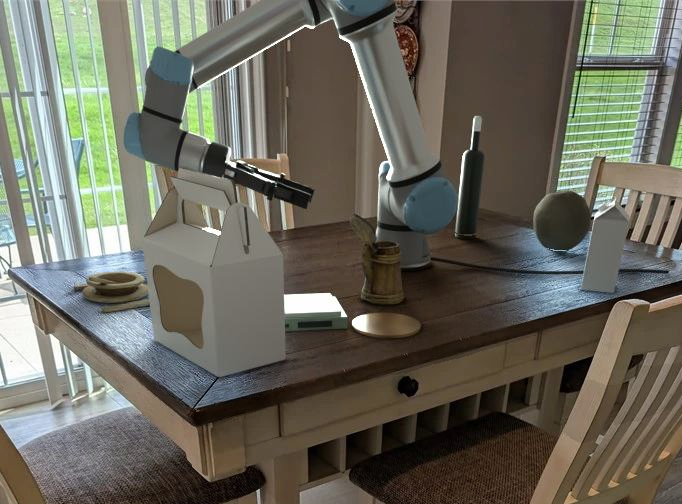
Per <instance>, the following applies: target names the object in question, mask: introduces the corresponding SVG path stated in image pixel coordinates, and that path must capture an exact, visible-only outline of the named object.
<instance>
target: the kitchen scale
mask: <svg viewBox="0 0 682 504" xmlns="http://www.w3.org/2000/svg"><path fill="white" fill-rule="evenodd" d="M284 307H285V332H298V331H299V332H300V331H319V330H341V329H348V324H349V323H348V315H347V313H346V312H345V310H344V309H343V307H342V305H341V304H340V302H339V301H338V299H337V298H336V296H333V295H332V294H331V293H330V292H324V293H321V292H320V293H319V292H318V293H297V294H295V293H293V294H284Z"/></svg>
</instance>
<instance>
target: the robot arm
mask: <svg viewBox="0 0 682 504" xmlns="http://www.w3.org/2000/svg"><path fill="white" fill-rule="evenodd" d="M397 14H398V8H397V5H396V1H395V0H259V1H257V2H255V3H254V4H252V5H250V6H249V7H247V8H245V9H243V10H241V11H240V12H239V13H237V14H234V15H233V16H231V17H230V18H228V19H226V20H225V21H223V22H221V23H220V24H218V25H217V26H214V27H212V28H211V29H209V30H207V31H206V32H205V33H203V34H201V35H199V36H198V37H196V38H194V39H193V40H191V41H189V42H187V43H185V44H184V45H183V46H181V47H179V48H178V49H177V50H175V51H173V50H170V49H169V48H165V47H162V46H156V47H155V48H154V49H153V51H152V52H153V53H152V56H151V59H150V61H149V66H148V67H147V68H146V71H145V74H144V75H145V76H144V83H145V87H146V88H145V92H144V93H145V94H144V99H143V104H142V109H141V111H140V112H135V111H134V112H133V111H132V112H131V113H130V114H129V116H128V117H127V119H126V124H125V126H124V130H123V139H122V140H123V146H124V149H125V151H126V152H127V153H128V154H130V155H132V156H134V157H137V158H139V159H141V160H144V161H145V162H147V163H151V164H154V165H156V166H160V167H163V168H165V169H168V170H171V171H174V172H177V173H178V170H179V168H185V169H189V170H193V171H197V172H201V173H205V174H209V175H213V176H217V177H221V178H225V179H229V180H233V181H234V183H235V185H239V186H242V187H243V188H244V187H245V188H247V189H250V190H251V191H254V192H256V193H259V194H260V195H263V196H264V197H266V200H268V201H273V198H274V199H277V200H279V201H282V202H284V203H287V204H290V205H293V206H296V207H299V208H301V209H304V210H307V209H308V207H309V206H308V205H309V203H310V204H311V203H312V200H313V197H314V193H315V191H316V189H315V188H313V187H310V186H308V185H305V184H302V183H300V182H297V181H294V180H291V179H289V178H285V177H286V174H285V173H283V172H280V174H276V173H273V172H270V171H266V170H264V169H260V168H258V167H257V166H253V165H251V164H248V163H247V162H245V161H243V160H236V161H235V162H233V161H231V160H230V159H231V157H232V156H231V155H232V150H231V147H229V146H228V145H226V144H222V143H220V142H217V141H215V140H214V141H211V142H210V139H209V138H207V137H205V136H202V135H199V134H198V133H195V132H191V131H188V130H185V129H182V124H183V121H184V115H185V110H186V106H187V102H188V97H189V95H190V94H191V93H193V92H195V91H196V90H198V89H199V88H201V87H203V86H205V85H206V84H208V83H210V82H211V81H213V80H215V79H216V78H218V77H220V76H222V75H223V74H226V73H227V72H229V71H230V70H232V69H234V68H235V67H238V66H239V65H241V64H242V63H244V62H246V61H248V60H249V59H251V58H253V57H255V56H256V55H258V54H259V53H262V52H263V51H265V50H266V49H269V48H270V47H272V46H274V45H275V44H277V43H279V42H281V41H282V40H284V39H286V38H288V37H290V36H291V35H293V34H294V33H296V32H298V31H299V30H301V29H303V28H304V27H307V28H309V29H314V28H316V27H318V26H319V25H321V24H323V23H326V22H329V21H331V20H333V21H334V25H335V27H336V30H337V33H338V36H339V38H340V39H342V40H343V41H346V42H348V43H349V44H350V47H351V49H352V53H353V56H354V58H355V63H356V65H357V69H358V71H359V74H360V77H361V80H362V83H363V86H364V90H365V92H366V95H367V98H368V102H369V104H370V108H371V109H372V110H371V111H372V114H373V117H374V119H375V123H376V126H377V129H378V133H379V136H380V138H381V141H382V144H383V147H384V151H385V153H386V156H387V159H388V160H386V161H385V160H384V161H382V162H381V164H380V166H379V173H378V176H377V178H378V193H377V194H378V197H377V219H376V222H377V223H376V225H377V226H376V230H375V233H376V238H377V240H376V241H385V240H387V241H393V242H397V243H399V245H400V251H401V261H400V267H401V272H413V271H420V270H425V269H427V268H429V267H430V266H431V265H432V261H433V262H440V263H444V264H450V265H455V266H461V267H467V268H472V269H480V270H487V271H494V272H502V273H503V272H504V273H513V274H526V275H549V276H550V275H552V276H553V275H583V274H584V271H583V270H531V269H530V270H529V269H517V268H506V267H498V266H497V267H496V266H488V265H482V264H475V263H468V262H463V261H457V260H452V259H446V258H442V257H441V258H440V257H435V256H432V254H431V253H432V252H431V248H430V245H429V240H428V236H427V235H433V234H436V233H439V232H441V231H442V230H444V229H445V228H447V227H448V225H449V224H450V223H451V222H452V220H453V218H454V216H455V215H456V213H457V210H458V200H459V198H458V194H457V190H456V188H455V187H454V185H453V183H451V181H449V180H448V179H447V178H446V174H445V172H444V168H443V165H442V161H441V158H440V156H439V155H438V154H436V153H434V152H432V151H431V150H430V147H429V144H428V140H427V137H426V133H425V130H424V126H423V123H422V119H421V117H420V116H421V115H420V113H419V108H418V106H417V103H416V99H415V96H414V93H413V90H412V85H411V83H410V79H409V76H408V72H407V68H406V65H405V61H404V58H403V55H402V51H401V48H400V45H399V41H398V37H397V34H396V31H395V27H394V22H395V18H396V16H397ZM618 273H643V274H644V273H645V274H661V275H662V274H664V275H668V274H670V270H669V269H651V268H650V269H649V268H619V272H618Z"/></svg>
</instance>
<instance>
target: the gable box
mask: <svg viewBox="0 0 682 504" xmlns="http://www.w3.org/2000/svg"><path fill="white" fill-rule="evenodd" d="M169 178H170V180H171V182H172V184H173V186H171V188H170V189H169V190H168V191H167V193H166V194H165V196H164V197H163V200H162V202H161V204H160V206H159V207H158V210H157V211H156V213H155V215H154V217H153V219H152V220H151V223H150V225H149V227H148V228H147V230H146V232H145V234H144V236H143V237H142V238H141V245H142V253H143V261H144V268H145V277H146V286H148V294H147V295H148V300H149V302H150V305H149V309H150V318H151V325H152V335H153V339H154V341H156V342H157V343H159V344H160V345H162V346H164V347H166V348H168V349H169V350H171V351H173V352H174V353H176V354H177V355H179V356H181V357H183V358H185V359H187V360H188V361H190V362H192V363H193V364H195V365H197V366H198V367H200V368H201V369H203V370H205V371H207V372H209V373H210V374H212V375H213V376H216V377H217V378H219V379H220V378H224V377H227V376H230V375H235V374H239V373H242V372H246V371H249V370H252V369H257V368H260V367H264V366H267V365H271V364H275V363H278V362H282V361H285V360H286V359H287V358H286V357H287V356H286V355H287V354H286V353H287V352H286V331H285V307H284V295H285V274H284V273H285V272H284V271H285V270H284V269H285V268H284V265H285V264H284V253H283V252H282V251H281V250H280V248H279V246H278V245H277V244H276V242H275V241H274V239H273V238H272V236H271V235H270V233H269V232H268V230H267V229H266V227H265V226H264V225H263V223H262V221H260V218H259V217H258V216H257V215H256V213H255V212H254V211H253V209H252V208H251V207H250V206H249V204H246V203H244V202H239V198H238V191H237V190H238V189H237V184H235V183H234V181H233V180H229V179H225V178H221V177H217V176H213V175H209V174H205V173H201V172H197V171H193V170H189V169H185V168H179V170H178V172H177V177H176V176H174V175H170V176H169ZM198 204H199V205H202V206H205V207H209V208H212V209H215V210H219V211H221V212H225V215H224V217H223V222H222V225H221V229H220V230H217V229H214V228H210V226H209V224H208V223H207V220H206V219H205V217H204V215H203V213H202V210H201V208H200V207H199V205H198Z"/></svg>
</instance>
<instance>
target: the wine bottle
mask: <svg viewBox="0 0 682 504" xmlns="http://www.w3.org/2000/svg"><path fill="white" fill-rule="evenodd" d="M482 122H483V118H482V116H481V115H474V117H473V120H472V133H471V144H470V149H466V150H465V151H464V152H463V155H462V160H461V172H460V181H459V191H458V203H457V210H456V222H455V231H454V237H455V238H456V239H459V240H475V239H476V238H477V229H478V220H479V211H480V204H481V203H480V202H481V194H482V185H483V177H484V167H485V160H486V155H485V153H484V151H483V150H482V149H479V148H480V147H479V146H480V140H481V139H480V138H481V131H482V124H483V123H482ZM455 232H456V233H460V234H474V233H476V235H472V236H464V235H458V234H456V233H455Z"/></svg>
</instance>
